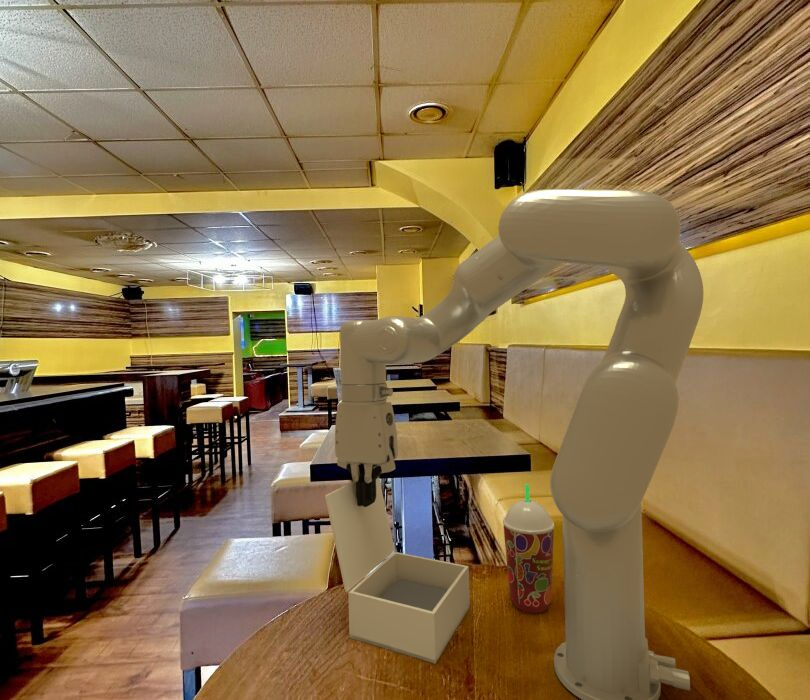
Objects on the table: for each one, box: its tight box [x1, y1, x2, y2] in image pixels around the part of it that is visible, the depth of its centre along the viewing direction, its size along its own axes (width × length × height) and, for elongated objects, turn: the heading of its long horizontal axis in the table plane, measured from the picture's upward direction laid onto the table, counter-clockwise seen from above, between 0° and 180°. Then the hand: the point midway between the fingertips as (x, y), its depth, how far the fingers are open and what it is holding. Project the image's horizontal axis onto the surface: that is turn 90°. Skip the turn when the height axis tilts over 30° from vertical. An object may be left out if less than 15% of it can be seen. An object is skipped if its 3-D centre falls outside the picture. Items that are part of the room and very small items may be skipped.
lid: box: [324, 477, 396, 593], centre depth 75 cm, size 14×16×1 cm
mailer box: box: [347, 551, 471, 664], centre depth 71 cm, size 14×15×7 cm
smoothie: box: [502, 483, 555, 614], centre depth 75 cm, size 8×8×20 cm
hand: (366, 503), depth 75 cm, fingers closed
